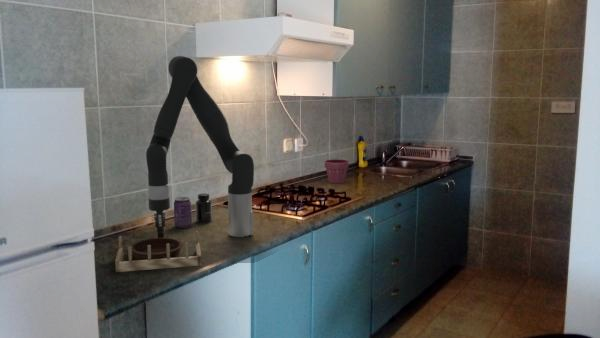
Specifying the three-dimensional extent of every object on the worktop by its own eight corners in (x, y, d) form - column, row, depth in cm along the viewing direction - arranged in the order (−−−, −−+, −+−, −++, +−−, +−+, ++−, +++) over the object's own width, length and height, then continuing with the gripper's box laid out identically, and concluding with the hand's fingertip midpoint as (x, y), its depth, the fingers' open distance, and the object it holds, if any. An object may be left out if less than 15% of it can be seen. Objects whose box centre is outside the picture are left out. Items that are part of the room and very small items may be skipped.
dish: (159, 245, 198) (159, 232, 197) (197, 259, 184) (196, 245, 183) (117, 257, 185) (116, 244, 184) (154, 273, 171) (154, 258, 170)
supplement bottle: (209, 223, 226) (208, 196, 224) (193, 223, 227) (192, 195, 225) (214, 219, 233) (213, 193, 231) (199, 218, 234) (198, 192, 232)
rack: (199, 250, 192) (198, 229, 190) (201, 265, 177) (200, 242, 176) (119, 256, 185) (118, 234, 184) (115, 272, 171) (114, 248, 170)
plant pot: (326, 179, 323) (326, 158, 320) (349, 180, 320) (349, 159, 318) (322, 184, 309) (323, 162, 307) (346, 185, 306) (347, 163, 304)
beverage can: (182, 223, 227) (181, 195, 225) (195, 225, 223) (194, 198, 221) (171, 227, 221) (169, 199, 219) (183, 229, 217) (182, 201, 215)
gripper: (169, 200, 190) (171, 246, 193) (168, 192, 202) (170, 235, 205) (148, 201, 188) (150, 248, 191) (148, 193, 200) (150, 237, 204)
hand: (160, 241), depth 198 cm, fingers closed
